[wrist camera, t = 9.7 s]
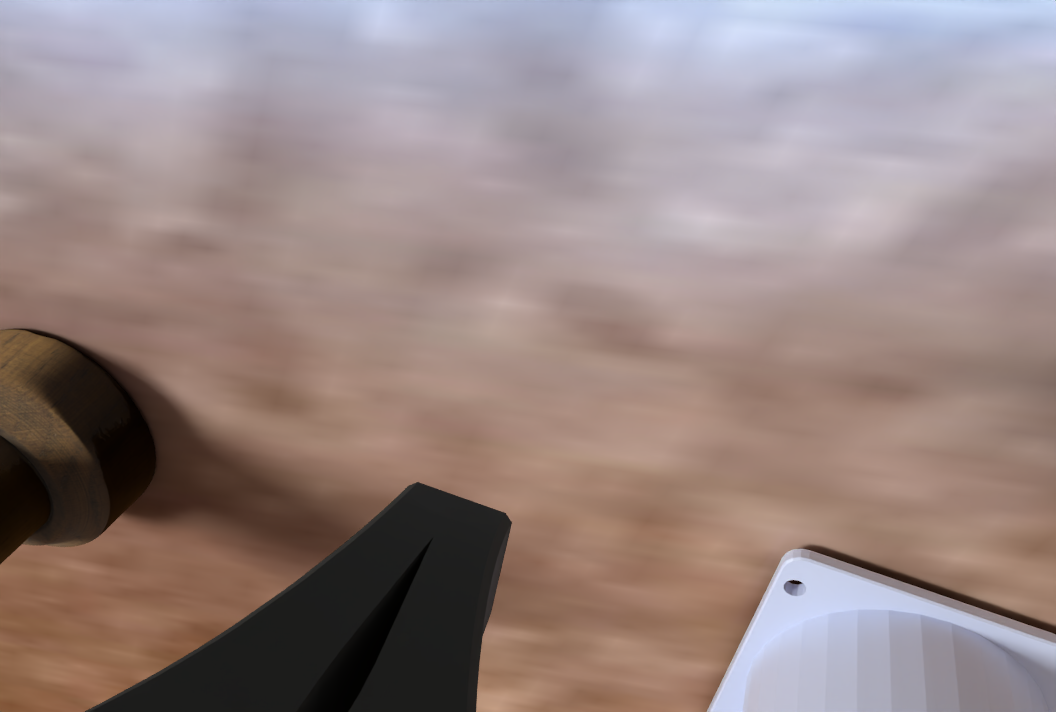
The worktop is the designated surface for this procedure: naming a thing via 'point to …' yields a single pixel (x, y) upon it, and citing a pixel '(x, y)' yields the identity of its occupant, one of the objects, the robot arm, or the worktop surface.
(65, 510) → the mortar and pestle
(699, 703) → the worktop surface
